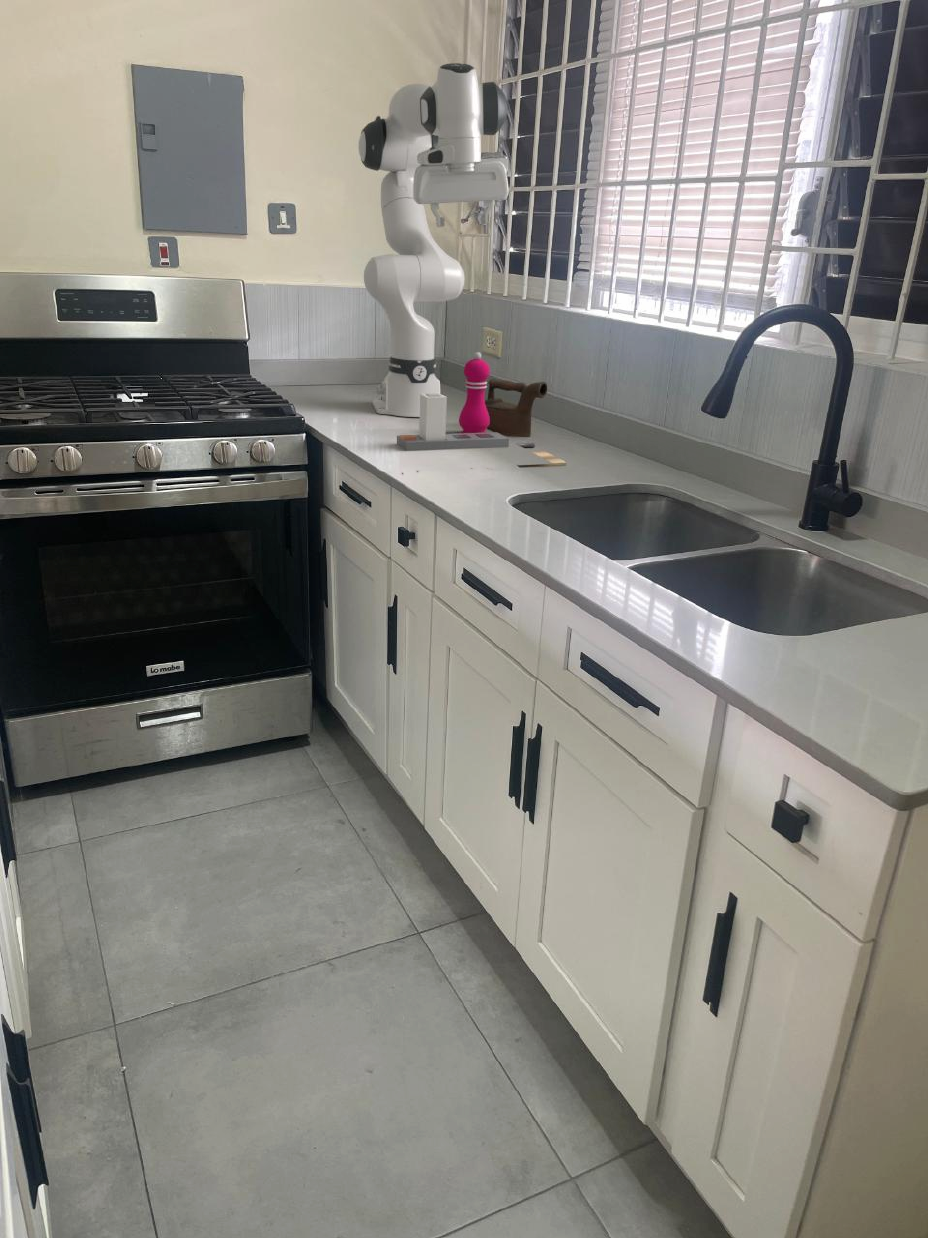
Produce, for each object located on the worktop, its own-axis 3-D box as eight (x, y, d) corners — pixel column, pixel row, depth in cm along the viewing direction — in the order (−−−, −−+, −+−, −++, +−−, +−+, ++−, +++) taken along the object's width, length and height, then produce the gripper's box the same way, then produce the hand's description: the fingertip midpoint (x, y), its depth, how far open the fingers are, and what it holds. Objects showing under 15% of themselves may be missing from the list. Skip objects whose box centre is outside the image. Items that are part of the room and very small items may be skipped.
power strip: (396, 449, 207) (396, 432, 206) (527, 443, 218) (528, 428, 217) (406, 456, 201) (406, 439, 200) (540, 450, 212) (541, 434, 211)
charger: (418, 444, 207) (420, 392, 203) (437, 443, 209) (439, 392, 204) (425, 448, 203) (427, 396, 199) (444, 447, 205) (446, 396, 200)
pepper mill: (485, 444, 216) (490, 355, 208) (455, 441, 217) (458, 352, 209) (491, 437, 223) (496, 351, 215) (461, 435, 224) (465, 349, 216)
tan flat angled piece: (499, 455, 206) (499, 452, 205) (544, 453, 210) (544, 450, 209) (520, 467, 196) (520, 464, 196) (566, 465, 200) (566, 462, 200)
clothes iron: (529, 441, 222) (533, 383, 216) (476, 430, 231) (479, 374, 226) (548, 436, 227) (552, 380, 222) (496, 426, 237) (499, 371, 231)
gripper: (504, 151, 199) (504, 221, 205) (409, 155, 195) (413, 226, 202) (512, 151, 193) (512, 223, 200) (415, 155, 190) (418, 229, 196)
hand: (462, 225), depth 201 cm, fingers open, 8 cm apart
